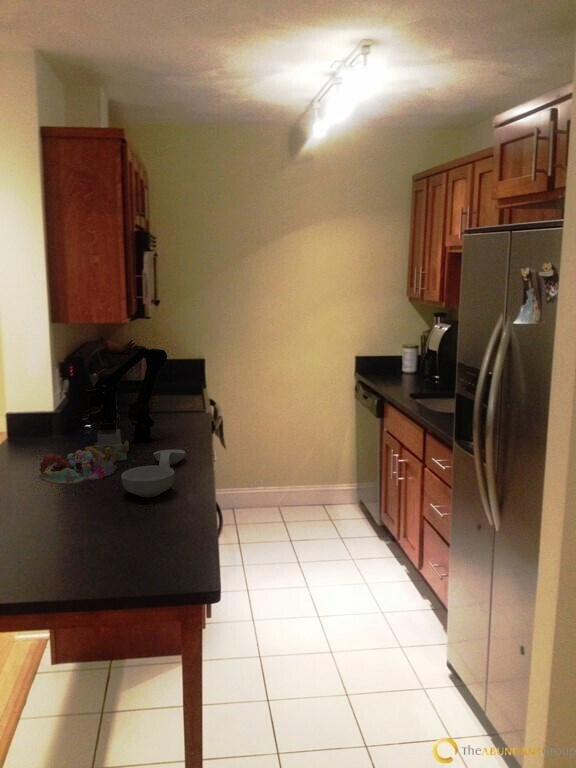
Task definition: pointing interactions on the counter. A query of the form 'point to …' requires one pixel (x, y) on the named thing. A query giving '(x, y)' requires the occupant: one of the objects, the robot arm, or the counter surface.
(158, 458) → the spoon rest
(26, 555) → the counter surface
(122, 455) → the pair of wooden bars
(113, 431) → the medicine box
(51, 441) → the counter surface
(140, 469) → the cereal bowl
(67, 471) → the candy landscape model
